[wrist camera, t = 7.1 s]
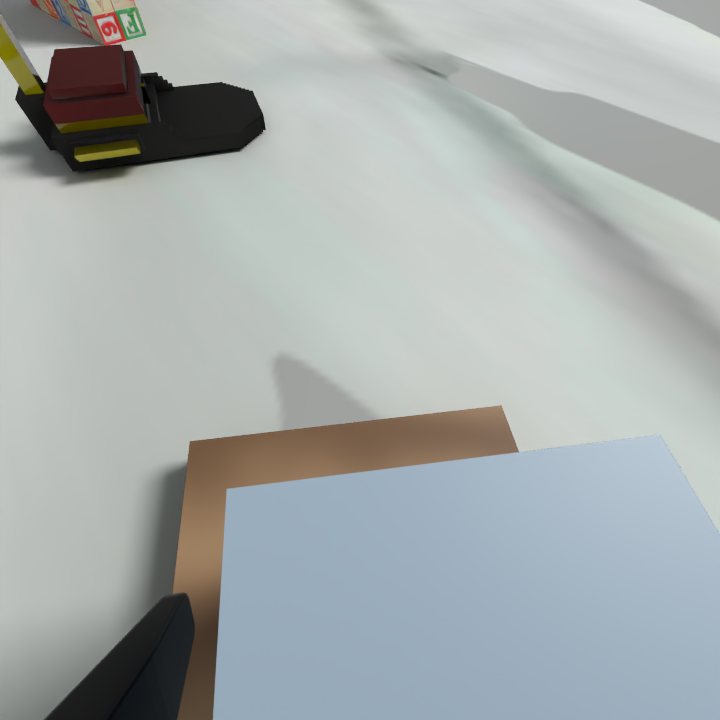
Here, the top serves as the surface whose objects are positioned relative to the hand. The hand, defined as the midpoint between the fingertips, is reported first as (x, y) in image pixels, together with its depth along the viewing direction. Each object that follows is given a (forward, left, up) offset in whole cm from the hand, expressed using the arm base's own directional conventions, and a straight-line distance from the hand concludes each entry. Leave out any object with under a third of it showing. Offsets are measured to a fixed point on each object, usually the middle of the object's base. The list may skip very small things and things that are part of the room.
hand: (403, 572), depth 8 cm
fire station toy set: (+32, +29, -11) cm, 45 cm away
